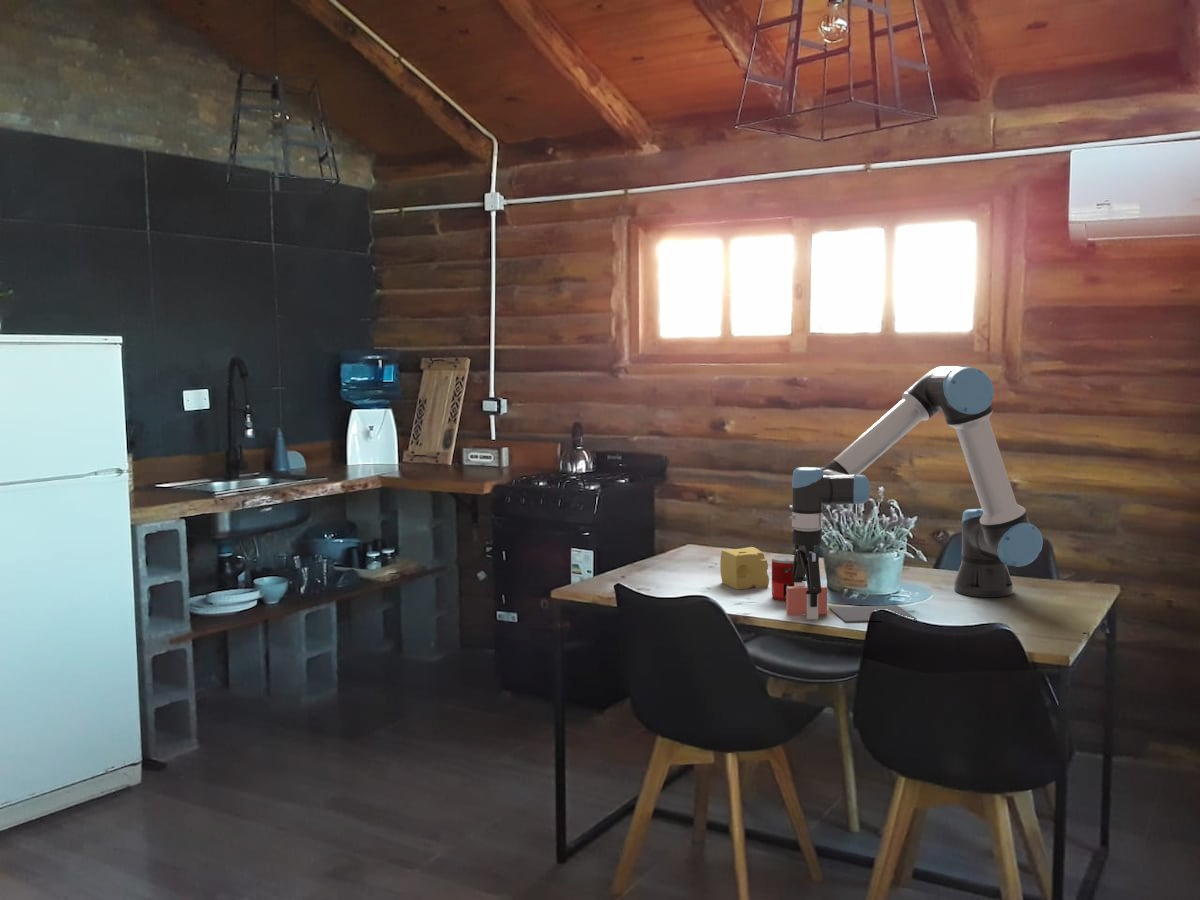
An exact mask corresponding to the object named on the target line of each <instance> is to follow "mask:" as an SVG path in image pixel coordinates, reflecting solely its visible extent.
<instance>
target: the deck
mask: <svg viewBox="0 0 1200 900" xmlns="http://www.w3.org/2000/svg"><path fill="white" fill-rule="evenodd" d="M821 590H822V591H821V593H819V594H818V615H828V586H826V585H821ZM806 591H808V587H807V585H805V586H794V587H786V601H785V602H786V605H785V607H786V608H785V610H786V612H785V613H787V614H788V615H787V614H786V615H787V616H804V615H803V614H807V594H806Z"/></svg>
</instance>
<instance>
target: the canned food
mask: <svg viewBox="0 0 1200 900" xmlns="http://www.w3.org/2000/svg"><path fill="white" fill-rule="evenodd" d="M793 562H794V555H787V554H786V555H784V554H783V555H775V556H772V557H771V595H772V599H773V600H775V601H780V602H786V587H794V578H793V577H792V571H793Z"/></svg>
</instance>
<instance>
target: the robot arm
mask: <svg viewBox="0 0 1200 900" xmlns="http://www.w3.org/2000/svg"><path fill="white" fill-rule="evenodd" d="M994 389H995V388H994V383H993V382H992V380H991V378H990V377H989V375H988V374H986V372H984V370H983V371H982V370H981V369H979V368H976V367H972V366H968V365H961V366H956V365H955V366H954V365H953V366H950V365H949V366H948V365H942V366H937V367H935V368H933V369H931V370H930V371H928V372H926V373H925V374H924V375H923V376H922V377H920V378H919V379H917V381H915V382H914V383H913V384H912V385H911V386H909V387H908V389H906V390H905V391H904V392H903V393H902V396H901V399H900V401H898V403H896V404H895V405H894V406H893V407H892V408H891V409H889V410H888V411H887V412H886V413H885V414H883V416H881V417H880V418H879V419H878V420H877V421H876V422H874V424H872V425H871V426H870V427H869V428H868V429H866V430H865V431H864V432H863V433H862V434H861V435H860V436H859V437H857V438H856V439H855V440H854V441H853V442H852V443H850V445H848V446H847V447H846V448H845V449H844V450H842V452H840V453H839V454H838V455H837V456H836V457H835V458H833V460H831V461H830V462H829V463H827V464H826V465H825V466H821V467H815V466H814V467H813V466H811V467H810V466H803V467H797V468H795V469H794V470H793V472H792V478H791V479H792V480H791V499H792V501H791V505H792V507H791V515H790V516H789V519H790V520H791V527H792V529H791V543H792V544H793V545H794V554H793V556H794V562H793V571H792V577H793V578H794V586H807V587H808V591H806V594H807V615H806V620H818V619H819V614H818V594H819V593H821V591H822V590H821V586H822V585H821V584H822V583H821V574H820V573H821V572H820V559H819V558H820V557H819V556H820V555H819V552H816V551H815V547H816V546H820V545H822V543H823V541H822V540H823V537H822V536H823V531H822V529H821V528H822V527H823V505H824V506H828V505H861V504H865V503H867V502H868V500H869V499H870V495H871V485H870V481H869V479H868V477H867V476H866V475H864V474H861V473H862V472H864V471H865V470H867V468H868V467H869V466H871V465H872V464H873V463H875V462H876V460H878V458H880V457H881V456H883V455H884V453H886V452H887V451H888V450H889V449H890V448H892V447H893V446H894V445H895V444H896V443H897V442H898V441H900V440H901V439H902V438H903V437H904V436H905V435H907V434H908V433H909V432H910V431H911V430H913V429H914V427H916V426H917V425H918V424H919V423H920V422H922V421H928V420H929V419H931V418H932V417H933V416H934V415H936V414H938V413H940V412H943V415H944V420H945V421H946V424H947V426H949V427H951V428H953V429H954V430H955V432H956V435H957V438H958V441H959V445H960V447H961V448H960V449H961V451H962V453H963V457H964V459H965V462H966V465H967V468H968V472H969V474H970V477H971V481H972V483H973V486H974V489H975V492H976V495H977V499H978V501H979V504H980V508H968V509H965V510H964V511H963V513H962V517H961V563H960V566H959V568H958V571H957V574H956V577H955V579H954V582H953V583H954V592H957V593H959V594H962V595H965V596H971V597H976V598H977V597H978V598H1005V597H1009V596H1012V595H1013V594H1014V585H1013V582H1012V578H1011V575H1010V572H1009V569H1008V568H1009V567H1008V566H1013V567H1019V568H1020V567H1025V566H1027V565H1030V564H1032V563H1033V562H1034V561H1035V560H1036V559H1037V558H1038V557H1039V555H1040V553H1041V551H1042V548H1043V544H1044V541H1043V540H1044V538H1043V535H1042V533H1041V531H1040V529H1038V527H1037V526H1036V525H1034V524H1033V523H1030V520H1029V517H1028V513H1027V510H1026V508H1025V507H1024V506H1022V505H1020V504H1019V503H1017V501H1016V497H1015V493H1014V491H1013V487H1012V484H1011V482H1010V479H1009V475H1008V472H1007V470H1006V466H1005V464H1004V463H1005V462H1004V461H1003V457H1002V455H1001V451H1000V448H999V445H998V443H997V439H996V435H995V432H994V430H993V426H992V424H991V420H990V418H991V416H992V414H993V412H994V409H993V406H992V401H993V398H994V397H995V390H994Z"/></svg>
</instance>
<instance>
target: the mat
mask: <svg viewBox="0 0 1200 900" xmlns="http://www.w3.org/2000/svg"><path fill="white" fill-rule="evenodd" d="M828 609H829V611H831V612H832V613H833V612H834V613H833V614H834V615H835V616H837V618H840V620H842V621H843V622H844V623H868V622H867V621H868V617H869V615H870V613H871V612H873V611H874V610H878V609H888V610H891V611H894V612H895V613H898V614H900V615H903V616H907V617H911V618H914V619H917V618H916V617H915V616H914V615H912V614H910V613H909V612H908V611H906V610H905V609H903V608H902V607H901V606H899V605H898V604H890V605H889V604H888V605H885V604H884V605H861V606H860V605H858V606H856V605H855V606H853V605H852V606H833V607H831V606H828Z"/></svg>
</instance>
